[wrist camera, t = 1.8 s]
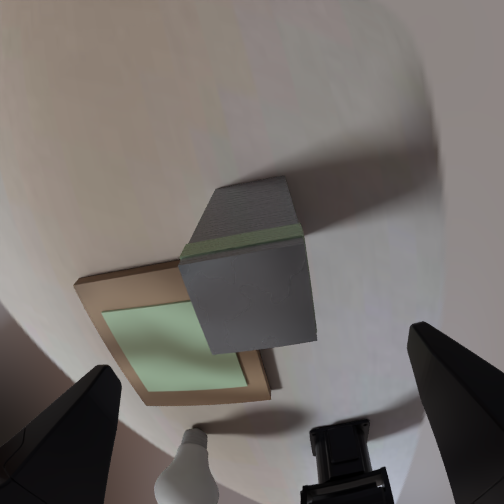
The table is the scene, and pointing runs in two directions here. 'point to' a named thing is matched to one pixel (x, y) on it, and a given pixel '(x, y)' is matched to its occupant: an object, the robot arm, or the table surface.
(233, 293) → the column
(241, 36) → the table surface
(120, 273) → the stand plate
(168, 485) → the lightbulb
